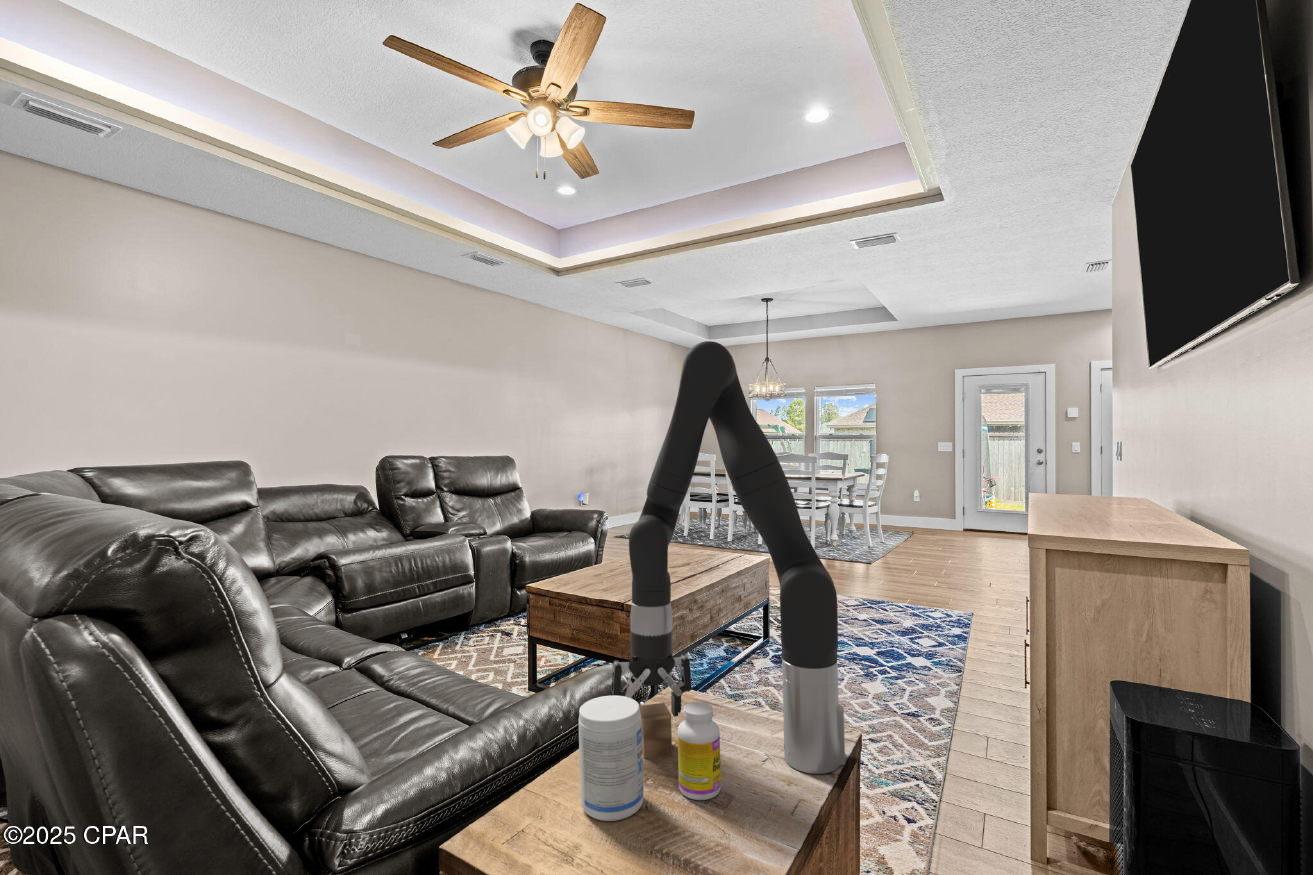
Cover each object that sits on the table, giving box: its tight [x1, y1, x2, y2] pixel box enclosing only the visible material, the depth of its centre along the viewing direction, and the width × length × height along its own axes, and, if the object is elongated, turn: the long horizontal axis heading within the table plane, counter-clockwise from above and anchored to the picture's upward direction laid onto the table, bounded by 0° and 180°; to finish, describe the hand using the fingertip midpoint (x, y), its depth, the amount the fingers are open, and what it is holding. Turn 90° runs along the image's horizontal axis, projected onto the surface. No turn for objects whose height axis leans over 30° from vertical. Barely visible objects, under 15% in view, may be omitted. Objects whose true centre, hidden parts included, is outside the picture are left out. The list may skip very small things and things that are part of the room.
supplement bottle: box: [677, 701, 722, 801], centre depth 94 cm, size 7×7×13 cm
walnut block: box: [639, 702, 673, 759], centre depth 106 cm, size 5×5×7 cm
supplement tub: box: [578, 695, 645, 822], centre depth 90 cm, size 10×10×15 cm
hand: (651, 717), depth 107 cm, fingers open, 8 cm apart
